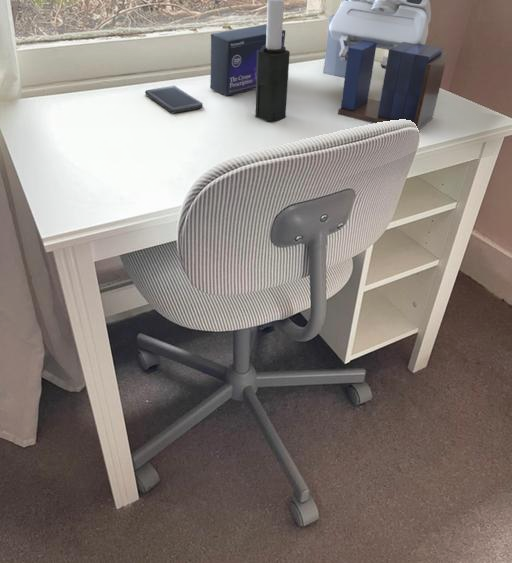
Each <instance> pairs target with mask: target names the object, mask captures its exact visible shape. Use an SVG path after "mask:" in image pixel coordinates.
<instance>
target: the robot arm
mask: <svg viewBox="0 0 512 563" xmlns="http://www.w3.org/2000/svg"><path fill="white" fill-rule="evenodd" d="M431 19H432V8H431V2H430V0H342V1H341V3H340V4H339V6H338V9H337V11H336V12H335V16H334V17H333V19H332V21H331V23H330V25H329V24H328V25H329V30H330V34H331V36H332V38H333V39H334V40H338V41H340V43H341V51H340V53H339V59H340V60H343V61H347V57H348V49H346V46H349V44H350V43H354V44H357V43H359V42H361V41H369V42H374V43H377V45H376V49H380V50H381V49H382V50H387V51H389V49H391V48H393V47H395V46H397V45H398V44H400V43H402V42H407V43H413V44H424V45H426V42H427V39H428V35H429V24H430V22H431ZM387 59H388V56H383V58H382V60H381V62H380V69H383V70H386V65H387Z"/></svg>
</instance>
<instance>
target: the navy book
mask: <svg viewBox="0 0 512 563" xmlns="http://www.w3.org/2000/svg"><path fill="white" fill-rule="evenodd" d="M376 45H377V43H374V42H369V41H361V42H359V43H357V44H355V45H353V46H351V47H349V49H348V57H347V64H346V72H345V77H344V80H343V82H344V83H343V88H342V96H341V104H340V108H344V109H348V110H352V111H354V110H356V109H357V108H359V107H360V106H362V105H363V104H365V103H366V102H368V99H369V95H370V90H371V84H372V83H371V82H372V75H373V69H374V63H375V57H376V50H377V48H376Z"/></svg>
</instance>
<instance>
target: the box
mask: <svg viewBox="0 0 512 563" xmlns="http://www.w3.org/2000/svg"><path fill="white" fill-rule="evenodd" d="M266 31H267V23H265V24H260V25H255V26H249V27H248V26H247V27H244V28H242V27H241V28H235V29H231V30H225V31H219V32H213V33H210V84H209V89H210V90H213V91H215V92H218V93H220V94H222V95H223V96H227V97H228V96H232V95H236V94H241V93H245V92H248V91H252V90H256V73H257V51H258V50H260V49H261V48H262V46H263V45H266ZM285 40H286V30H285V29H282V43H281V46H284V47H285Z"/></svg>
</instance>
